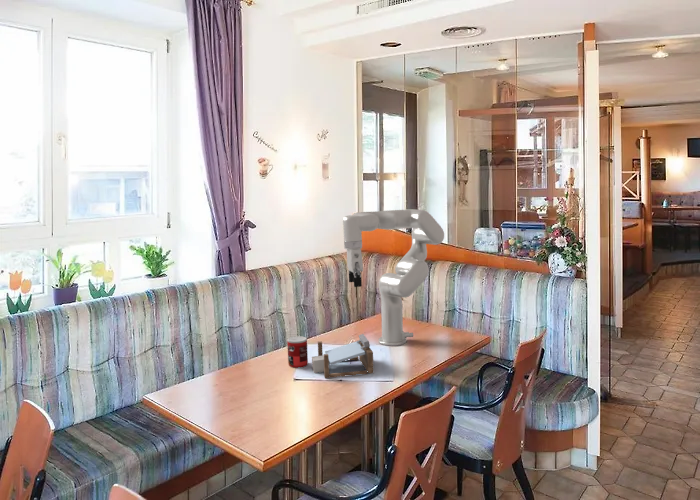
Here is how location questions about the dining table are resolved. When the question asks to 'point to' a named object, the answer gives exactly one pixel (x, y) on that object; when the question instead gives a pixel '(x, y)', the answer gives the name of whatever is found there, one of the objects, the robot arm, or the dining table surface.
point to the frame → (365, 359)
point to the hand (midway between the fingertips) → (355, 284)
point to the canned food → (297, 351)
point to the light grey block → (318, 364)
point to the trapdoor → (348, 351)
